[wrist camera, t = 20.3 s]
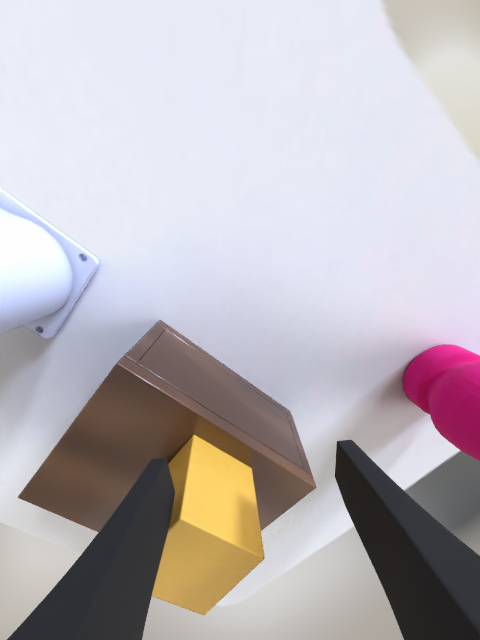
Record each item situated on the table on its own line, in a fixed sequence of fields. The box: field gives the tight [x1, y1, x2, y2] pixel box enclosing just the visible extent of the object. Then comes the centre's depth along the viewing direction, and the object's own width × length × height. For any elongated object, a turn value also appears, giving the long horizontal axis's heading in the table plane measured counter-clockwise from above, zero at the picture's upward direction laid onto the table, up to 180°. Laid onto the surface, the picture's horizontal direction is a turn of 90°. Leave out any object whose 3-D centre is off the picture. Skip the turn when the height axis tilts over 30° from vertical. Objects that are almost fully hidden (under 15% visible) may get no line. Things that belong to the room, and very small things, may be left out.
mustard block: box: [152, 435, 264, 615], centre depth 12 cm, size 4×4×4 cm
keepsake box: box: [124, 320, 312, 475], centre depth 18 cm, size 12×15×6 cm
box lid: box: [18, 357, 316, 532], centre depth 15 cm, size 12×15×1 cm
